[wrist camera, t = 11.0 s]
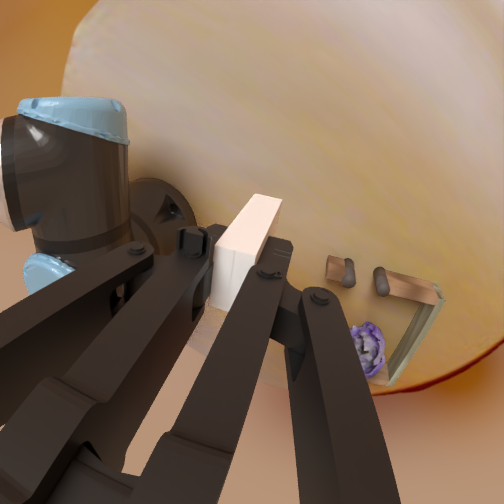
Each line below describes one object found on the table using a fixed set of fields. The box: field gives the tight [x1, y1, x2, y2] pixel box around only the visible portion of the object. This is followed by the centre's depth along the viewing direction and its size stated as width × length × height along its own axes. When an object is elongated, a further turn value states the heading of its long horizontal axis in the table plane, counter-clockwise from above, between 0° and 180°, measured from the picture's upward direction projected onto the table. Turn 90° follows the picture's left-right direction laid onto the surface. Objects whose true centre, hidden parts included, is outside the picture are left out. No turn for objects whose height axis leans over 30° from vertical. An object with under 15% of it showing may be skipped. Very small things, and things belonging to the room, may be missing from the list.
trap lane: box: [326, 255, 446, 387], centre depth 45 cm, size 18×20×5 cm
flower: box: [349, 322, 386, 379], centre depth 45 cm, size 9×9×10 cm
